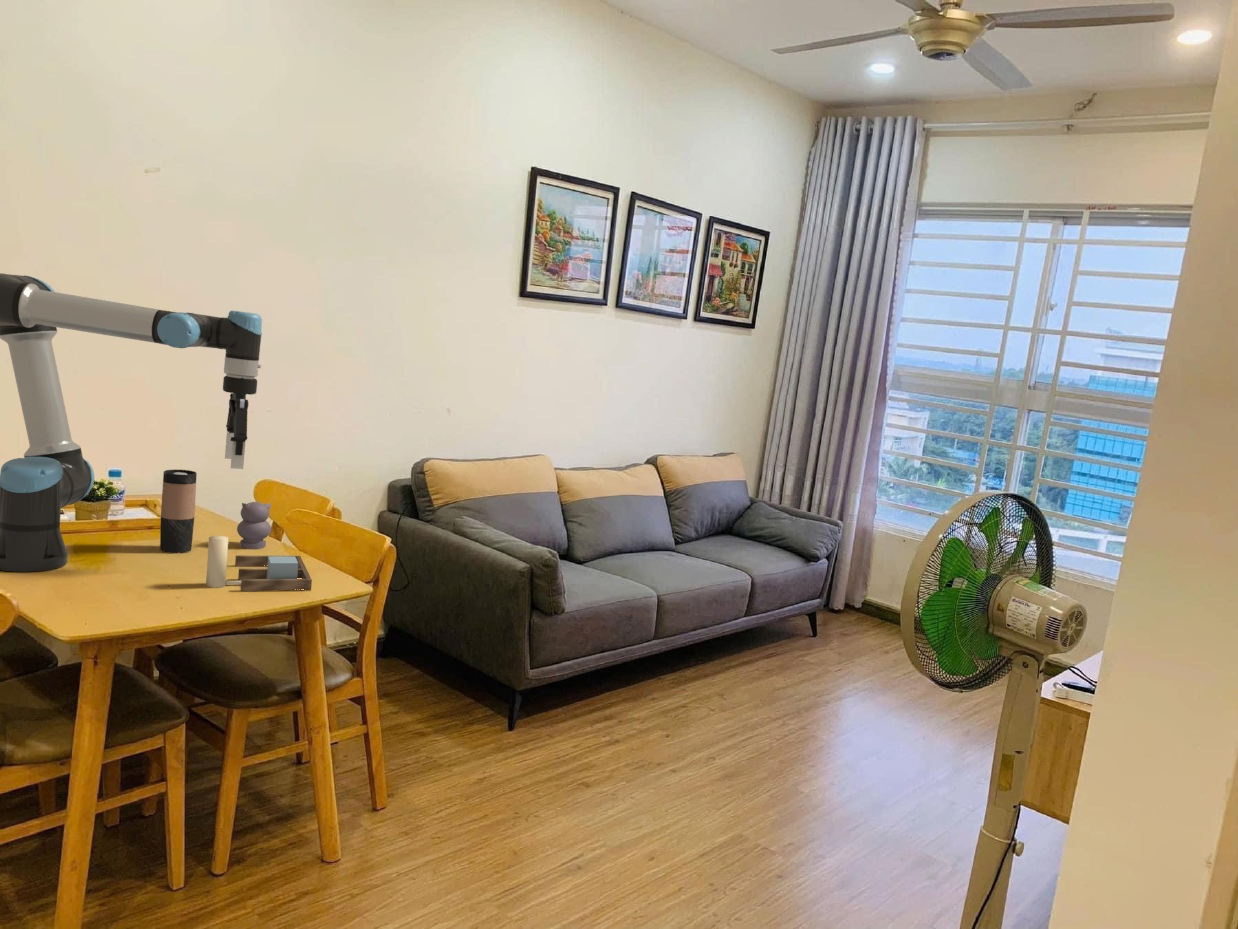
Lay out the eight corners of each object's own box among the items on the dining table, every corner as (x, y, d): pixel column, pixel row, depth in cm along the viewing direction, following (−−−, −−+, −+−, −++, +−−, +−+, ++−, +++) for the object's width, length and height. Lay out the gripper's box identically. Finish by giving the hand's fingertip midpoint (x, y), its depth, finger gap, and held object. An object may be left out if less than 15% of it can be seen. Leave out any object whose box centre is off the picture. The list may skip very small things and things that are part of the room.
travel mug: (198, 548, 234) (203, 472, 231) (181, 555, 226) (186, 476, 223) (170, 544, 234) (174, 468, 232) (152, 550, 227) (156, 471, 224)
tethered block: (206, 589, 202) (209, 540, 200) (205, 581, 207) (208, 534, 206) (296, 588, 210) (299, 542, 209) (293, 581, 216) (296, 535, 214)
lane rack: (240, 591, 203) (241, 580, 203) (235, 565, 223) (235, 555, 222) (311, 590, 210) (311, 580, 210) (299, 565, 229) (300, 555, 229)
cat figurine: (265, 542, 248) (268, 498, 247) (274, 549, 242) (277, 504, 241) (232, 543, 243) (235, 499, 241) (240, 550, 237) (243, 505, 235)
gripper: (264, 383, 210) (256, 473, 212) (251, 373, 231) (244, 455, 234) (229, 379, 206) (221, 471, 208) (219, 370, 227) (212, 454, 230)
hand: (233, 463), depth 221 cm, fingers open, 13 cm apart
